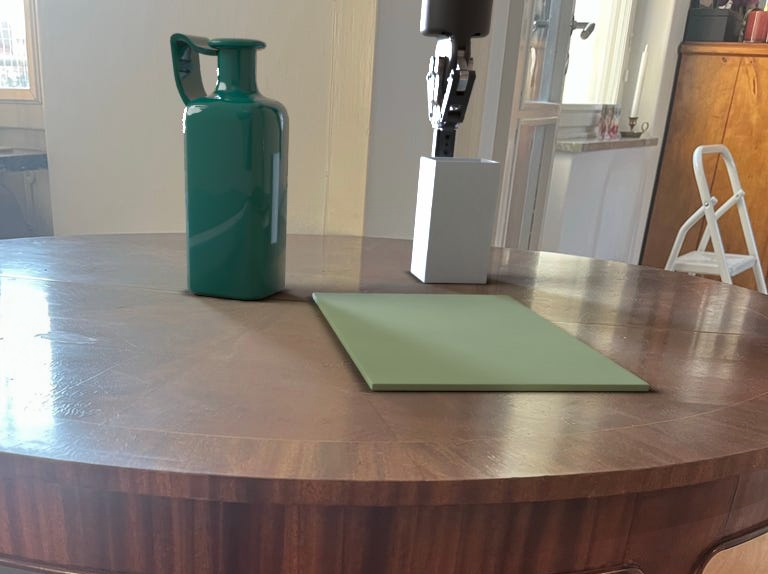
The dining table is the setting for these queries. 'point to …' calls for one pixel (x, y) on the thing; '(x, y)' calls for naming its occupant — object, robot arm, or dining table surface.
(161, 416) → the dining table surface
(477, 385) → the mat
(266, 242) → the pitcher
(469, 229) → the bin
